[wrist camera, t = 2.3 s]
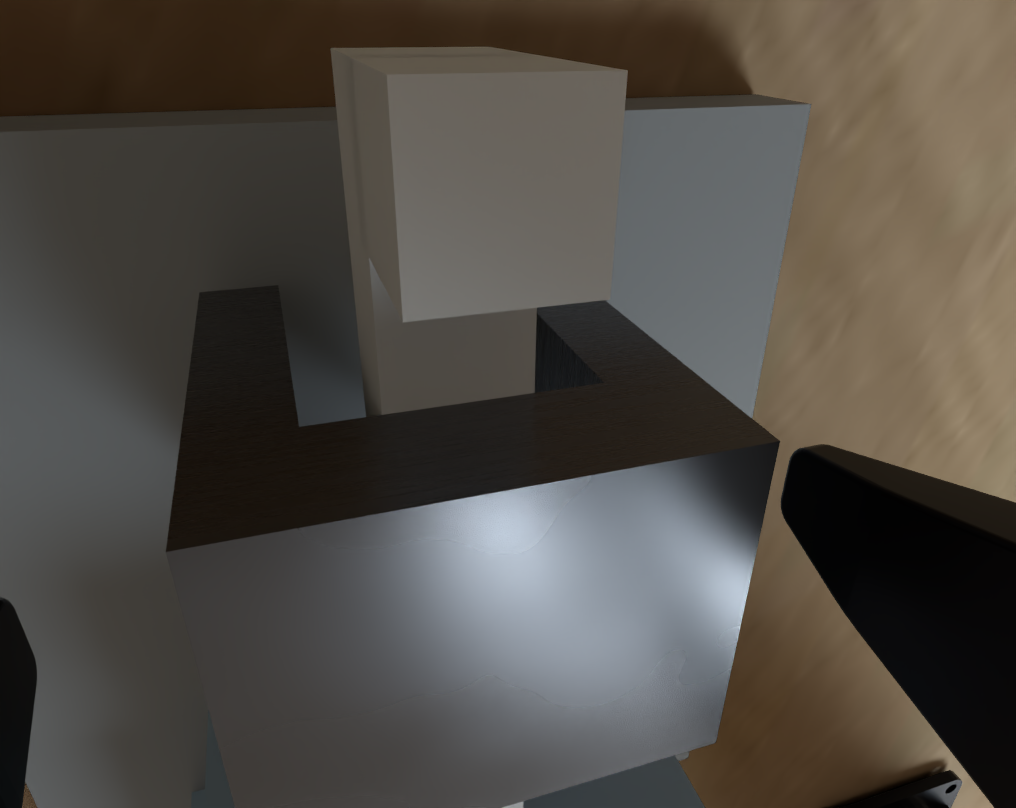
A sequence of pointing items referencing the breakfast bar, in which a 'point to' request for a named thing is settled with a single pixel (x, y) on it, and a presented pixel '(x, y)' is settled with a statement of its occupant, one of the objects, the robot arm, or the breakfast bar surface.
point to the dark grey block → (460, 569)
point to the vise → (331, 330)
